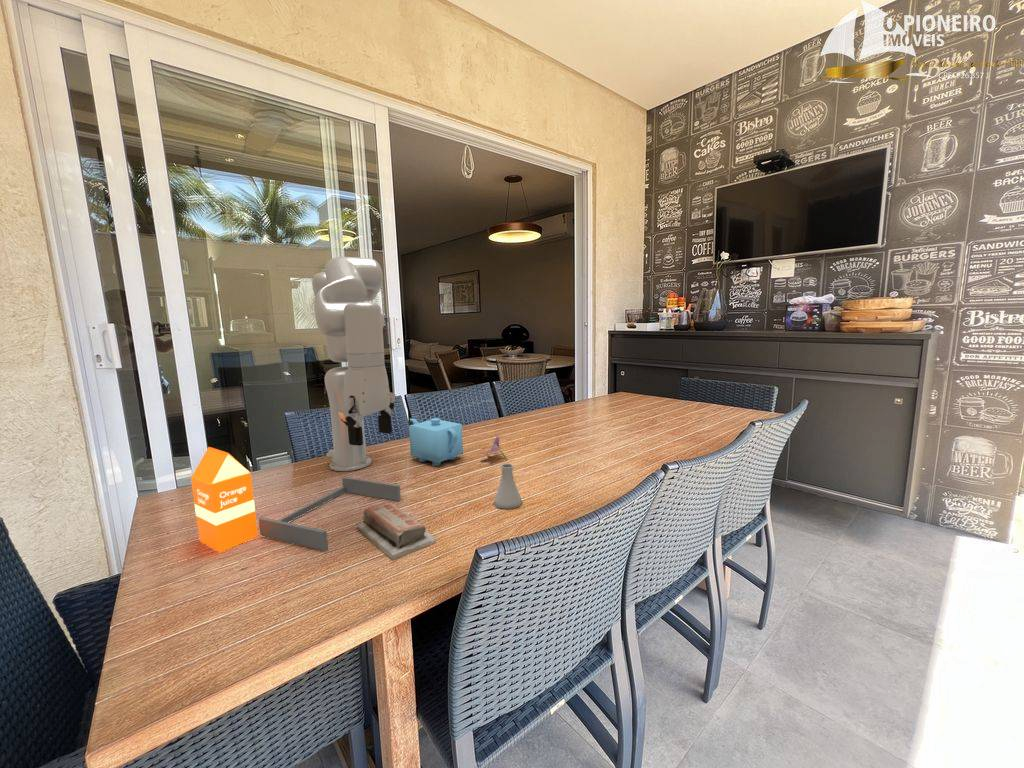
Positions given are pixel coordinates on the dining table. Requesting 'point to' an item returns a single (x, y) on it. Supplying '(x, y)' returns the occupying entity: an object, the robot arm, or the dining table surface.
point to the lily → (495, 446)
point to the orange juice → (223, 501)
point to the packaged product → (393, 530)
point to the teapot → (435, 440)
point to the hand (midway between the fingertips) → (371, 438)
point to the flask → (507, 489)
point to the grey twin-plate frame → (312, 535)
